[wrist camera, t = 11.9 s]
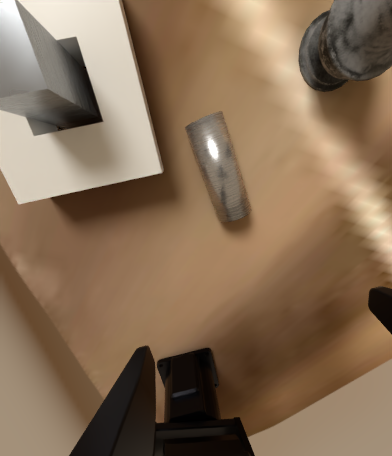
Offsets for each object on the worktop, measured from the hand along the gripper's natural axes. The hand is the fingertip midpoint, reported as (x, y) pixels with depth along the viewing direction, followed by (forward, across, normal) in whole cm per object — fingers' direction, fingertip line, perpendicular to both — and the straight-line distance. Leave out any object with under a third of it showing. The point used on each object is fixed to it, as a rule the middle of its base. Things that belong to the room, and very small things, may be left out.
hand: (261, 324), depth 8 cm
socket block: (+12, +8, -12) cm, 19 cm away
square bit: (+12, +8, -12) cm, 19 cm away
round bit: (+13, -1, -5) cm, 14 cm away
